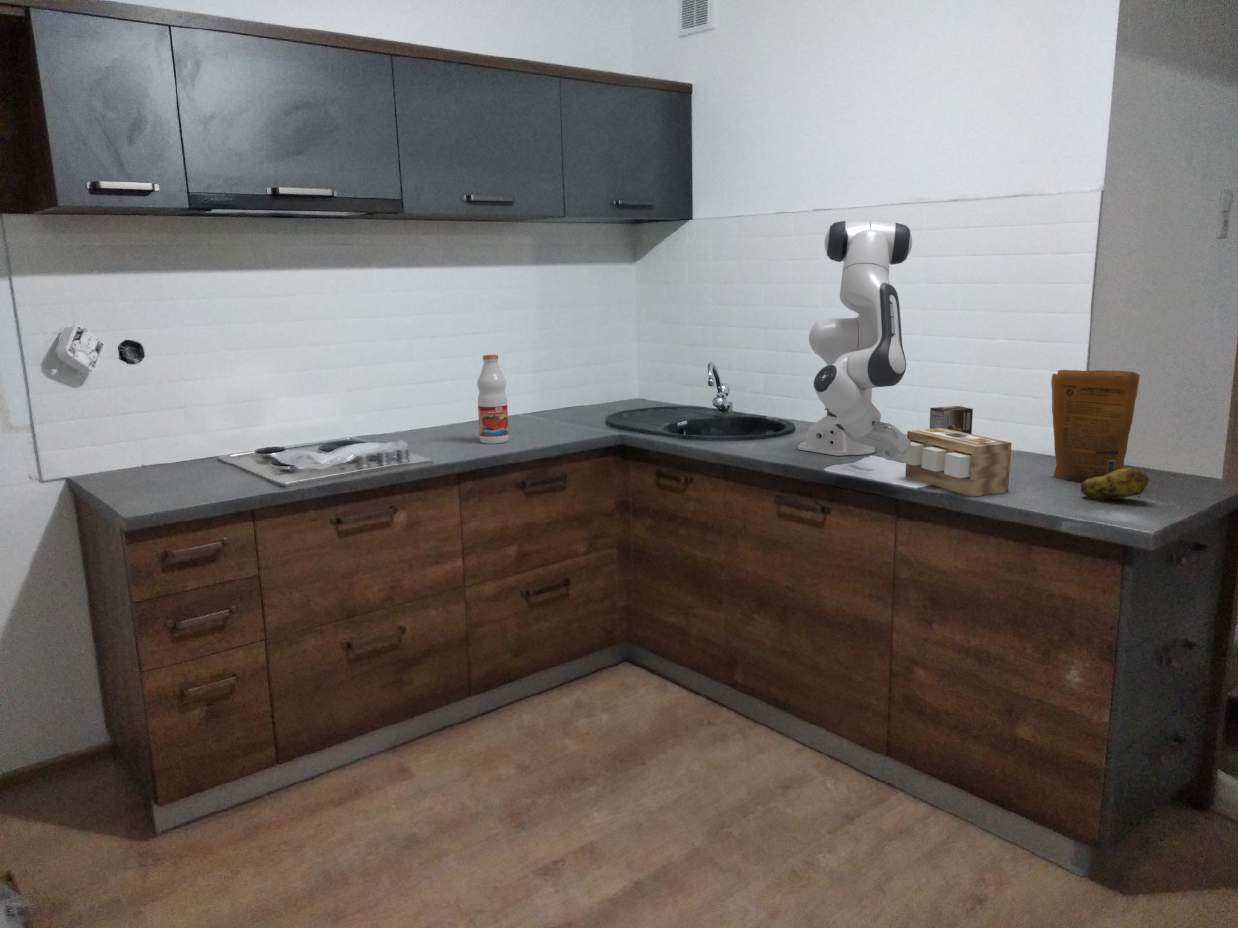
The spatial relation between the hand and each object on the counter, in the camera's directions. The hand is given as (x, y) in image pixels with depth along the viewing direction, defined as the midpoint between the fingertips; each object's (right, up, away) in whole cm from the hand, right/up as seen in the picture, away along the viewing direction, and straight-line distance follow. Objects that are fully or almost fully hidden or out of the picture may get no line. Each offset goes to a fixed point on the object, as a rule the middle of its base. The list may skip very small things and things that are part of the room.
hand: (892, 455), depth 228 cm
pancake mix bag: (+48, -7, -1) cm, 49 cm away
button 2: (+14, -5, -11) cm, 19 cm away
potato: (+45, -11, -19) cm, 50 cm away
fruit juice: (-109, +5, +68) cm, 129 cm away
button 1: (+8, -2, +4) cm, 9 cm away
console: (+15, -7, -1) cm, 16 cm away
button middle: (+11, -3, -3) cm, 12 cm away
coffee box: (+21, -3, +19) cm, 28 cm away
